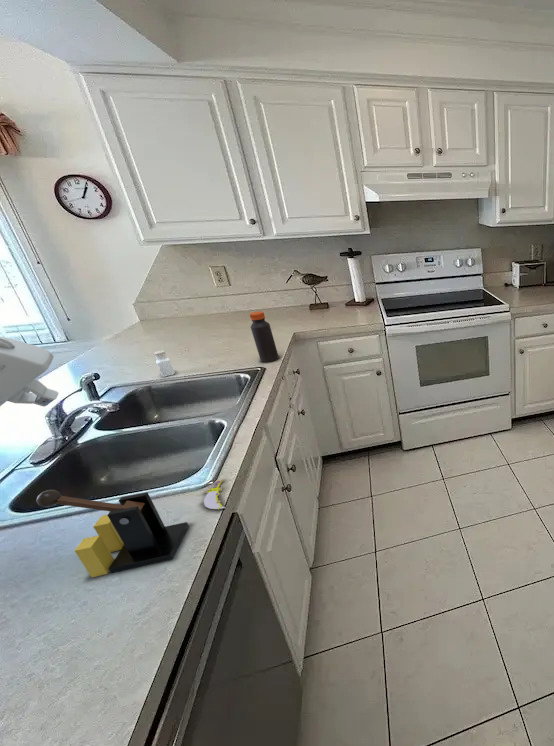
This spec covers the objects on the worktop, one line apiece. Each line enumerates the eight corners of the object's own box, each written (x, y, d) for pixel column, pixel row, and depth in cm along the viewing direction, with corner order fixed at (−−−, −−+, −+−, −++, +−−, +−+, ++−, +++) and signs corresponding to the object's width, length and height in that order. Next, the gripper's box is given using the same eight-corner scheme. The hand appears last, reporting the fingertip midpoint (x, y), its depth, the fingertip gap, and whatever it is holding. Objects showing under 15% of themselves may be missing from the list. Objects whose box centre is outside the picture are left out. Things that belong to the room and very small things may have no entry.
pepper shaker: (162, 377, 157) (153, 354, 153) (161, 374, 160) (152, 351, 156) (175, 374, 160) (166, 351, 156) (174, 371, 162) (164, 349, 158)
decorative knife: (200, 516, 90) (226, 508, 92) (199, 514, 90) (225, 506, 92) (207, 484, 100) (231, 477, 101) (207, 483, 99) (230, 476, 101)
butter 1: (108, 552, 82) (92, 526, 79) (116, 541, 84) (101, 515, 81) (123, 549, 82) (108, 523, 79) (130, 538, 85) (116, 512, 82)
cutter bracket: (110, 573, 77) (81, 526, 72) (133, 537, 85) (109, 493, 80) (172, 559, 80) (148, 513, 75) (189, 525, 88) (168, 482, 83)
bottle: (257, 361, 169) (242, 315, 160) (270, 355, 175) (256, 310, 166) (269, 363, 167) (256, 316, 158) (282, 357, 173) (270, 311, 164)
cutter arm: (30, 509, 71) (33, 495, 71) (42, 497, 74) (45, 484, 73) (135, 523, 78) (139, 511, 77) (142, 512, 80) (146, 500, 80)
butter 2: (91, 577, 77) (73, 550, 74) (100, 564, 79) (83, 538, 76) (107, 574, 77) (90, 547, 74) (115, 561, 80) (99, 534, 77)
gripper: (-15, 316, 63) (94, 358, 74) (-88, 379, 67) (25, 411, 78) (-35, 345, 59) (83, 385, 70) (-111, 410, 63) (11, 439, 74)
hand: (52, 399), depth 74 cm, fingers closed
